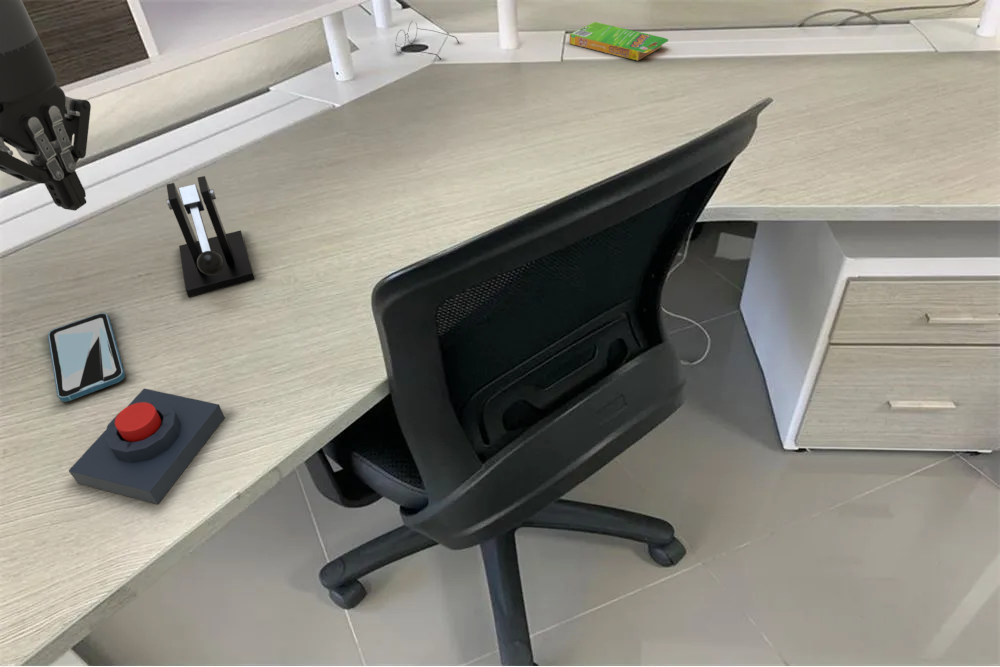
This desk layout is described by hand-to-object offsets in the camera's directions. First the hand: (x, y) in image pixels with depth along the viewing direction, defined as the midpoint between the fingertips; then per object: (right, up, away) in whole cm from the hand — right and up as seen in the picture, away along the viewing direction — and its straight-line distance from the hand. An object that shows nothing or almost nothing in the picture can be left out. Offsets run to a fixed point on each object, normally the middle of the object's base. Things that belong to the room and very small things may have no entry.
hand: (74, 206), depth 74 cm
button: (+7, -23, -1) cm, 24 cm away
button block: (+7, -26, +2) cm, 27 cm away
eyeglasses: (+28, +52, +88) cm, 107 cm away
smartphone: (-7, -17, +13) cm, 22 cm away
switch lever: (+5, -1, +20) cm, 21 cm away
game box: (+72, +51, +84) cm, 122 cm away
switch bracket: (+4, -4, +27) cm, 28 cm away
